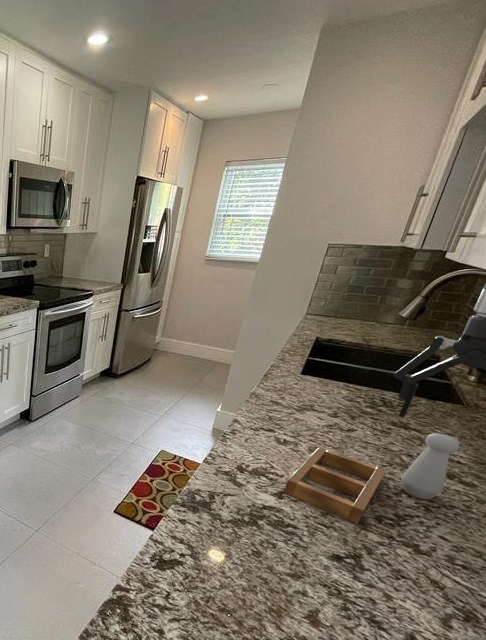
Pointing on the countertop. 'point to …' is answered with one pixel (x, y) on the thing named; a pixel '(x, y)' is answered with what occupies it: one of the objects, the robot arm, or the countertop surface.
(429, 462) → the salt shaker
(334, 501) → the frame
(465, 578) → the countertop surface
